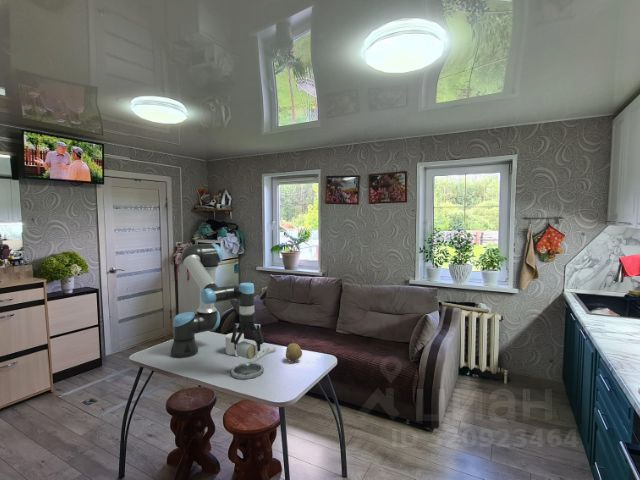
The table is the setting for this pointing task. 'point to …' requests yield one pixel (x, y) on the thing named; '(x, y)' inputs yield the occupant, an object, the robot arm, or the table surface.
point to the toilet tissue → (232, 344)
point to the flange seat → (247, 371)
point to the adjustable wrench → (262, 355)
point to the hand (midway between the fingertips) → (247, 356)
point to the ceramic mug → (246, 350)
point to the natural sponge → (293, 352)
